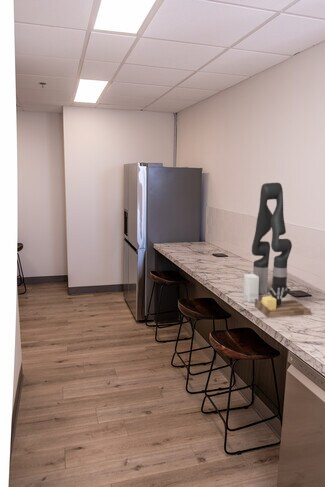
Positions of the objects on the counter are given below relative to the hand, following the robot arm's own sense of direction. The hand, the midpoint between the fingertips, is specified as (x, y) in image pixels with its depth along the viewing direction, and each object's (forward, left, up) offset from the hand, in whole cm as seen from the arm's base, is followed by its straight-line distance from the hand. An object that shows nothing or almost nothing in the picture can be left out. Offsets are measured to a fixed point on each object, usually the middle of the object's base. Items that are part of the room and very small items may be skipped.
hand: (278, 304), depth 209 cm
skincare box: (-19, -8, -4) cm, 21 cm away
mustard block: (+1, -6, -1) cm, 6 cm away
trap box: (0, +3, -4) cm, 5 cm away
